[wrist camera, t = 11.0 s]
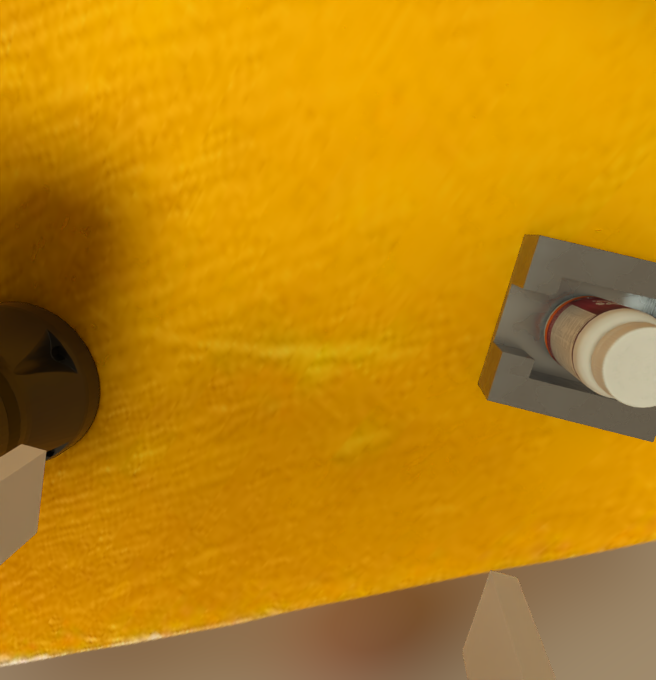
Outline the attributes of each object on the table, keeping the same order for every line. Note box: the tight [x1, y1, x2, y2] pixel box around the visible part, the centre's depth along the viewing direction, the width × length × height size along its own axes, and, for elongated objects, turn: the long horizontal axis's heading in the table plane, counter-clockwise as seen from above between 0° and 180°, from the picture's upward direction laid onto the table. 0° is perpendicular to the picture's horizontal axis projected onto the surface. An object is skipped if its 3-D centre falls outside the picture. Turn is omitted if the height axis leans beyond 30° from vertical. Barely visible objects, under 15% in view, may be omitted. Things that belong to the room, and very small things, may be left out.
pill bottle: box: [544, 296, 656, 408], centre depth 38 cm, size 6×6×11 cm
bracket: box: [478, 234, 656, 442], centre depth 42 cm, size 13×13×4 cm
